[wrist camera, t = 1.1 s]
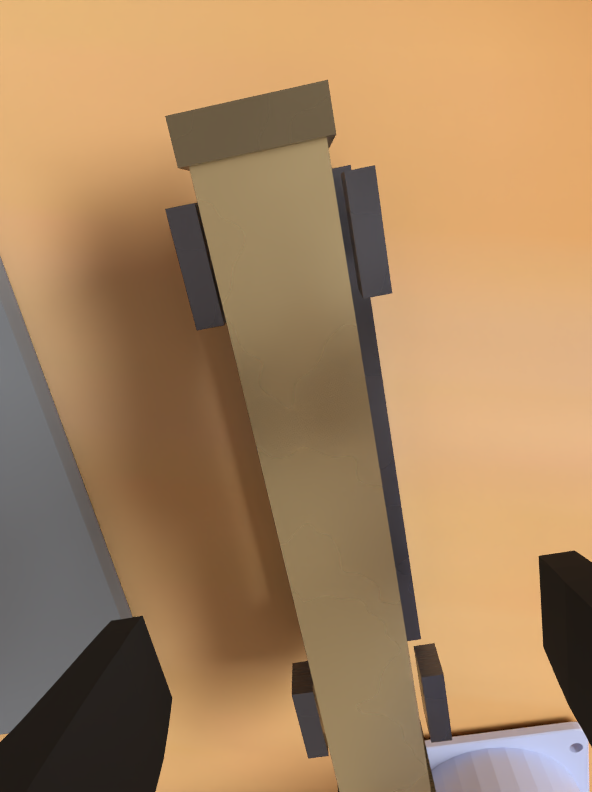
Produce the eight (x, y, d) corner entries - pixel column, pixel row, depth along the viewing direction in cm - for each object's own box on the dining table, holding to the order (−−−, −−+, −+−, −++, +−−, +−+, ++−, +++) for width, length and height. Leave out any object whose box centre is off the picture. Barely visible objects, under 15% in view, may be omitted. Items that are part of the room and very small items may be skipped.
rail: (422, 738, 17) (443, 831, 15) (338, 748, 18) (344, 842, 15) (322, 106, 11) (327, 79, 9) (195, 134, 11) (165, 115, 9)
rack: (418, 618, 21) (453, 746, 16) (308, 634, 21) (309, 764, 16) (351, 166, 15) (372, 151, 10) (205, 197, 16) (161, 196, 11)
